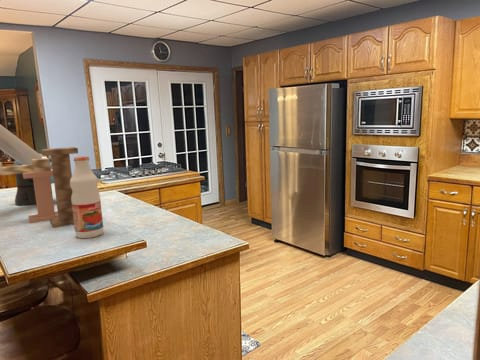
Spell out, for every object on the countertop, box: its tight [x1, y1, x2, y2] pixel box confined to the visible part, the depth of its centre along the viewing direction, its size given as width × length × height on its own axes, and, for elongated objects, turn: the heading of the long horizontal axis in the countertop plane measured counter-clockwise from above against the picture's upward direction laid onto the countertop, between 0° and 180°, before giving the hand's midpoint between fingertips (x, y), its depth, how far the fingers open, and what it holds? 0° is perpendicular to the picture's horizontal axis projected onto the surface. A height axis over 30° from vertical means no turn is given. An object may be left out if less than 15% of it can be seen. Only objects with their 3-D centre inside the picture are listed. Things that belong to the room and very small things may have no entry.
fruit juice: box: [70, 155, 104, 239], centre depth 128 cm, size 9×9×28 cm
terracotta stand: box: [23, 169, 59, 224], centre depth 153 cm, size 13×8×20 cm, turn 123°
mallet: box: [0, 158, 51, 176], centre depth 148 cm, size 20×7×5 cm, turn 123°
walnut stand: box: [40, 146, 79, 228], centre depth 145 cm, size 12×9×30 cm
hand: (0, 162), depth 143 cm, fingers open, 13 cm apart
